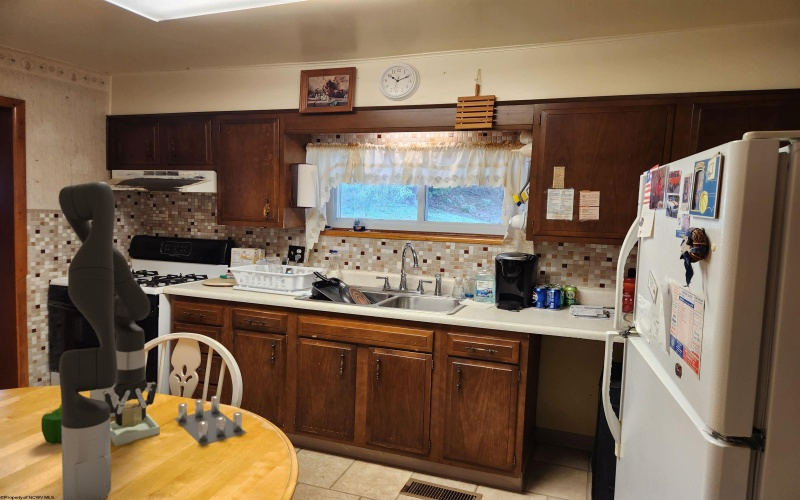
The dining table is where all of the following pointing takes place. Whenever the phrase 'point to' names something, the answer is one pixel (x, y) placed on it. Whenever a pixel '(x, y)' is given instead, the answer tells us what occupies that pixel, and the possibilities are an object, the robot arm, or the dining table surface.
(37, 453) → the dining table surface
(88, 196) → the robot arm
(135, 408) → the yellow faceted hexagonal block
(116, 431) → the sage parts tray
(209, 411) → the mat
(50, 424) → the bell pepper
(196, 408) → the standing spacers
